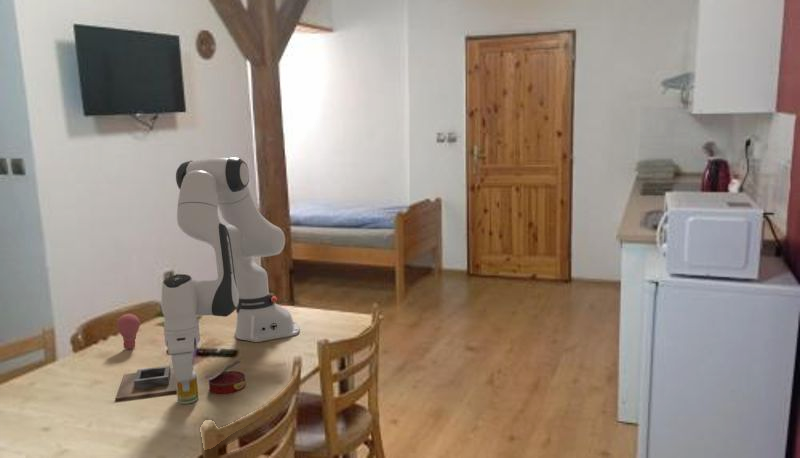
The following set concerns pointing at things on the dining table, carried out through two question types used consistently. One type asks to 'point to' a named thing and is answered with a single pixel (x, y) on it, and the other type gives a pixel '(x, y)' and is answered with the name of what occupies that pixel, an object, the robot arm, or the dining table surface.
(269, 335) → the robot arm
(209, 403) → the dining table surface
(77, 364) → the dining table surface
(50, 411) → the dining table surface
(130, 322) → the light bulb
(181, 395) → the supplement bottle
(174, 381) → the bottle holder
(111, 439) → the dining table surface
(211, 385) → the canned food
